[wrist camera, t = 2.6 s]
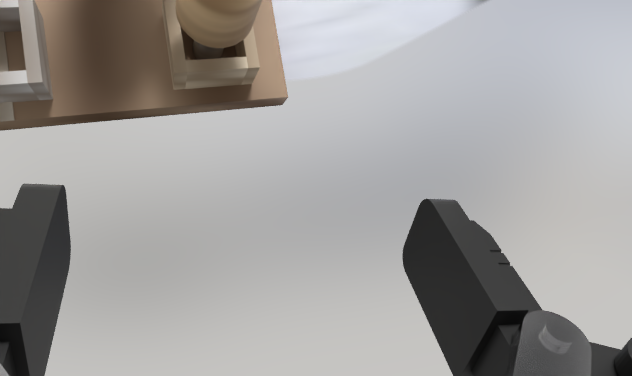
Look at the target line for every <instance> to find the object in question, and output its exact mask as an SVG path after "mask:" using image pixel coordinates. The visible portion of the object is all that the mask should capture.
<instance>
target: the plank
mask: <svg viewBox="0 0 632 376" xmlns="http://www.w3.org/2000/svg"><path fill="white" fill-rule="evenodd" d="M175 7H176V0H0V130H11V129H22V128H32V127H43V126H55V125H65V124H76V123H88V122H99V121H111V120H122V119H133V118H144V117H155V116H166V115H177V114H187V113H199V112H210V111H220V110H232V109H242V108H254V107H265V106H276V105H282V104H283V103H284V102H285V100H286V99H287V98H288V95H287V88H286V82H285V77H284V71H283V65H282V59H281V54H280V48H279V42H278V36H277V30H276V25H275V19H274V13H273V7H272V1H271V0H262V2H261V5H260V8H259V10H258V13H257V16H256V18H255V21H254V24H253V27H252V29H251V31H250V33H249V34H248V35H247V37H246V38H245V39H244V40H242V41H241V42H239V43H238V44H236V45H233V46H230V47H226V48H224V50H223V54H222V56H221V58H216V59H200V60H198V59H197V58H196V57H195V55H194V53H193V42H194V40H193V39H192V38H191V37H190V36H188V35H187V34H186V32H185V31H184V30H183V29H182V27H181V25H180V23H179V21H178V19H177V15H176V8H175Z"/></svg>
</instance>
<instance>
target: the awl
mask: <svg viewBox="0 0 632 376" xmlns="http://www.w3.org/2000/svg"><path fill="white" fill-rule="evenodd" d="M261 2H262V0H176V7H175V8H176V15H177V19H178V21H179V23H180V25H181V27H182V29H183V30H184V31H185V32H186V34H187V35H188V36H190V37H191V38H192V39H193V40H194V42H193V53H194V55H195V57H196V58H197V59H198V60H200V59H216V58H221V56H222V54H223V50H224V48H226V47H230V46H233V45H236V44H238V43H239V42H241V41H242V40H244V39H245V38H246V37H247V35H248V34H249V33H250V31H251V29H252V27H253V24H254V21H255V18H256V16H257V13H258V10H259V8H260V5H261Z"/></svg>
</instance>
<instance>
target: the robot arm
mask: <svg viewBox="0 0 632 376" xmlns="http://www.w3.org/2000/svg"><path fill="white" fill-rule="evenodd" d="M70 248H71V245H70V232H69V221H68V211H67V199H66V191H65V187H64V185H43V184H23V185H22V186H21V188H20V190H19V193H18V195H17V198H16V200H15V203H14V205H13V208H12V209H2V208H0V376H44V375H45V371H46V366H47V362H48V358H49V353H50V348H51V345H52V340H53V336H54V332H55V327H56V323H57V319H58V314H59V310H60V305H61V301H62V297H63V293H64V288H65V284H66V279H67V275H68V271H69V265H70V251H71V249H70ZM403 265H404V269H405V272H406V274H407V276H408V278H409V281H410V283H411V284H412V287H413V289H414V291H415V294H416V295H417V298H418V300H419V302H420V304H421V307H422V309H423V311H424V313H425V315H426V317H427V320H428V322H429V324H430V326H431V328H432V331H433V333H434V335H435V337H436V339H437V341H438V343H439V346H440V348H441V350H442V352H443V354H444V357H445V359H446V361H447V363H448V365H449V367H450V370H451V372H452V374H453V376H632V338H631V339H630V340H629V341H628V342H627V344H626V345H625V346H624V348H623V349H622V350H620V349H616V348H612V347H607V346H604V345H599V344H595V343H591V342H589V341H588V340H587V338H586V336H585V335H584V334H583V332H582V331H581V330H580V329H579V328H578V327H577V326H576V325H574V324H573V323H572V322H570V321H569V320H567V319H566V318H564V317H562V316H560V315H558V314H555V313H552V312H549V311H543V310H542V309H541V307H540V306H539V304H538V303H537V301H536V300H535V298H534V297H533V296H532V294H531V293H530V291H529V290H528V288H527V287H526V285H525V284H524V282H523V281H522V280H521V278H520V277H519V275H518V274H517V272H516V271H515V269H514V268H513V267H512V266H510V262H509V261H508V260H507V258H506V257H505V255H504V254H503V253H501V249H500V248H499V246H498V245H497V243H496V242H495V240H494V239H493V238H492V236H491V235H490V234H489V233H488V232H487V231H486V230H484V229H483V228H482V227H481V226H480V225H478V224H477V223H476V222H475V221H470V220H469V218H468V217H467V215H466V214H465V212H464V211H463V209H462V208H461V206H460V205H459V204H458V202H457V201H455V200H441V199H424V200H423V201H422V202H421V203H420V205H419V208H418V210H417V213H416V215H415V218H414V221H413V224H412V226H411V229H410V231H409V234H408V237H407V239H406V242H405V245H404V248H403Z"/></svg>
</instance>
